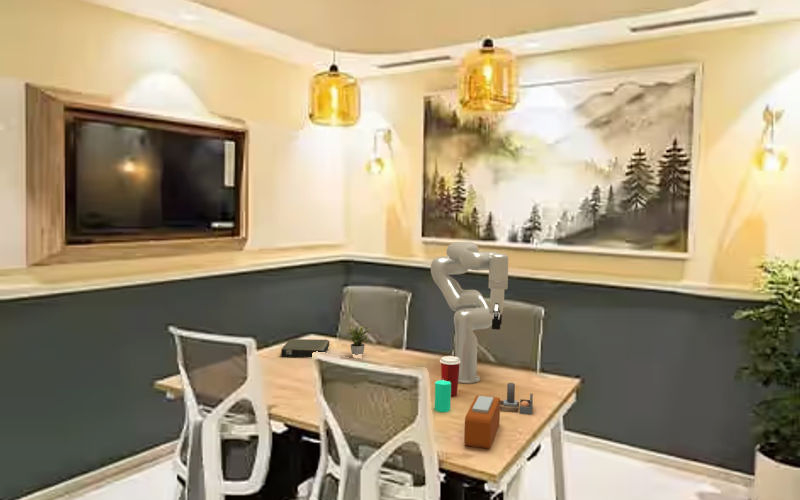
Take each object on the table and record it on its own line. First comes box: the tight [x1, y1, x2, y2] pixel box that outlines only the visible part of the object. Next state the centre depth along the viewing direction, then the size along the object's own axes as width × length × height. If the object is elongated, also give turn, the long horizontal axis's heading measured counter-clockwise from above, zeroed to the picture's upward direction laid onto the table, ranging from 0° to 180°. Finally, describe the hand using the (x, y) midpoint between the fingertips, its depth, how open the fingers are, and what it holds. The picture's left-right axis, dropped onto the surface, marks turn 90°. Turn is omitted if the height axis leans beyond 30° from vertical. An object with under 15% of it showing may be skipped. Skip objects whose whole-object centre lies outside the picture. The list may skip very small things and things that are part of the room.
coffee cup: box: [439, 355, 460, 398], centre depth 245 cm, size 8×8×15 cm
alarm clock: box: [463, 395, 501, 450], centre depth 204 cm, size 24×8×11 cm, turn 163°
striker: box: [503, 382, 518, 407], centre depth 230 cm, size 5×4×9 cm
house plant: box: [345, 325, 373, 355], centre depth 298 cm, size 14×14×16 cm
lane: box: [500, 399, 520, 413], centre depth 231 cm, size 17×7×2 cm, turn 77°
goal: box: [519, 393, 534, 415], centre depth 229 cm, size 5×9×5 cm, turn 167°
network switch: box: [280, 338, 330, 358], centre depth 307 cm, size 23×23×5 cm
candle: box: [434, 379, 452, 413], centre depth 227 cm, size 6×6×12 cm
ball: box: [519, 401, 530, 407], centre depth 229 cm, size 3×3×3 cm
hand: (496, 326), depth 243 cm, fingers open, 9 cm apart
